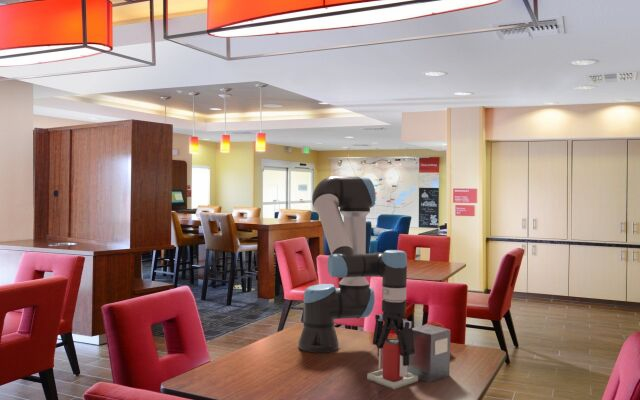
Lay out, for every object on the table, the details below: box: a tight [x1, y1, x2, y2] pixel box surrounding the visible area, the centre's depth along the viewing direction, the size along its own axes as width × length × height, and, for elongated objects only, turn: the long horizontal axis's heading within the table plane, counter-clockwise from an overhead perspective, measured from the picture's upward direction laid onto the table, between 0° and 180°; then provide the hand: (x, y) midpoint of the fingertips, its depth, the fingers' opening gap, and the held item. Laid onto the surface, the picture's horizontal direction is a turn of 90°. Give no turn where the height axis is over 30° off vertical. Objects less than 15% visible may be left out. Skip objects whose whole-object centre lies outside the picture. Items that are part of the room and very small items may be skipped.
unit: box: [407, 324, 451, 383], centre depth 183 cm, size 10×10×15 cm
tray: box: [366, 369, 419, 390], centre depth 177 cm, size 11×11×2 cm
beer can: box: [383, 337, 404, 382], centre depth 177 cm, size 7×7×12 cm
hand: (392, 371), depth 177 cm, fingers open, 8 cm apart
